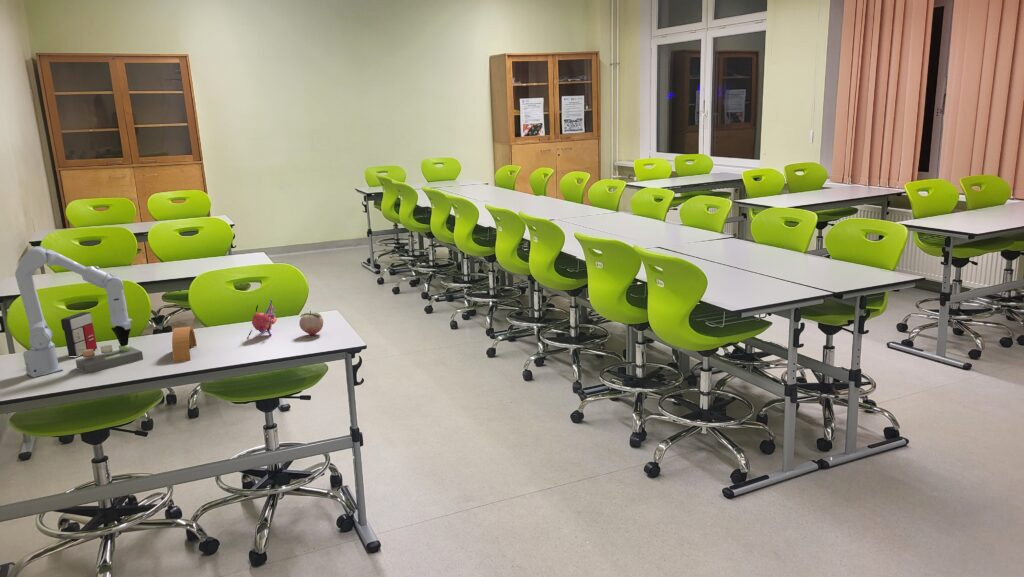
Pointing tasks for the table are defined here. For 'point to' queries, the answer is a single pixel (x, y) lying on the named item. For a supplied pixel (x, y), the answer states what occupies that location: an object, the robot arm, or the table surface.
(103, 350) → the cream button
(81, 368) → the button panel
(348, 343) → the table surface
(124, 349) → the sage button
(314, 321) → the decorative fruit
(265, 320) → the heart model
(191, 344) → the arch
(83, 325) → the grey and red box
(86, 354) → the terracotta button
